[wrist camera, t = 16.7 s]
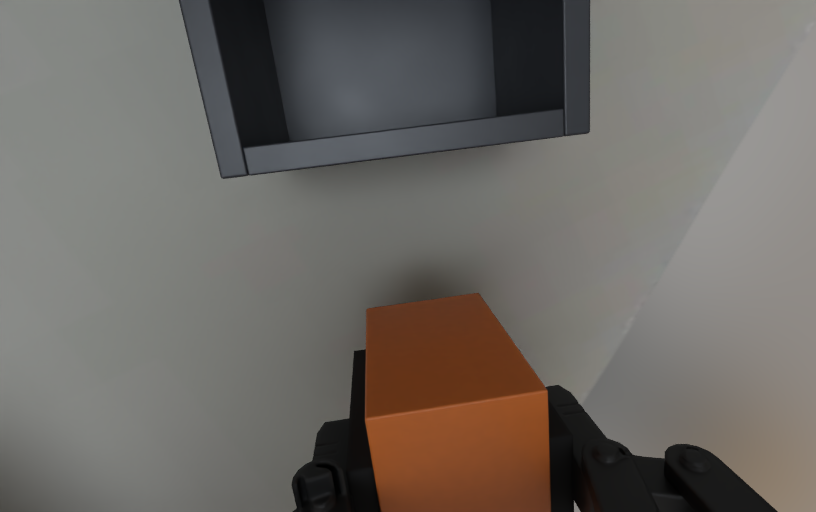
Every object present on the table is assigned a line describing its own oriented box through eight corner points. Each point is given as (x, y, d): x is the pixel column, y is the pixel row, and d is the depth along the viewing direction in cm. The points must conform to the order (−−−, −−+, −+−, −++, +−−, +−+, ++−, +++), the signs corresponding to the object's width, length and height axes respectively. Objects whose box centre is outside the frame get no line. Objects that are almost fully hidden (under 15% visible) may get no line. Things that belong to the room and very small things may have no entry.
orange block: (488, 417, 19) (553, 571, 12) (385, 433, 19) (394, 600, 12) (478, 291, 17) (549, 390, 11) (366, 307, 17) (364, 418, 10)
